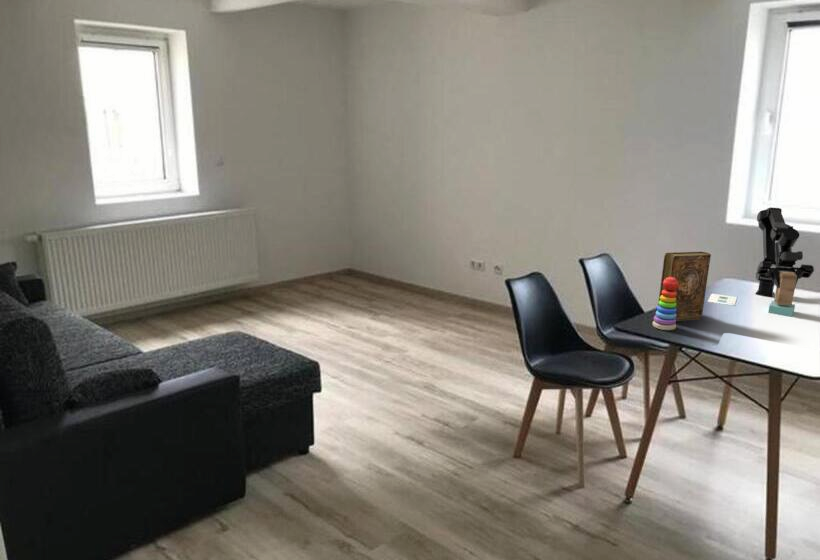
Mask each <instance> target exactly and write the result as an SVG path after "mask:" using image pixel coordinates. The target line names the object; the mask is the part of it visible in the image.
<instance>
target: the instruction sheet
mask: <svg viewBox="0 0 820 560" xmlns="http://www.w3.org/2000/svg"><path fill="white" fill-rule="evenodd" d="M737 301H738V297H737V296H730V295H724V294H717V293H711V294H710V296H709V298H708V300H707V303H712V302H713V304H719V303H720V304H719V305H725V304H727V305H726V306H732V303H733V304H734V305H735V306H736V302H737Z"/></svg>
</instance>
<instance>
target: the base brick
mask: <svg viewBox="0 0 820 560" xmlns="http://www.w3.org/2000/svg"><path fill="white" fill-rule="evenodd" d="M768 306H769V307H768V314H773V315H779V316H783V317H784V316H785V317H790V318H791V317H793V315H794V312H795V308H796V304H795V303H792V306H787V305H777V304H776V302H775V301H774V300H772V301H771V303H770V304H769V305H768Z"/></svg>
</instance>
